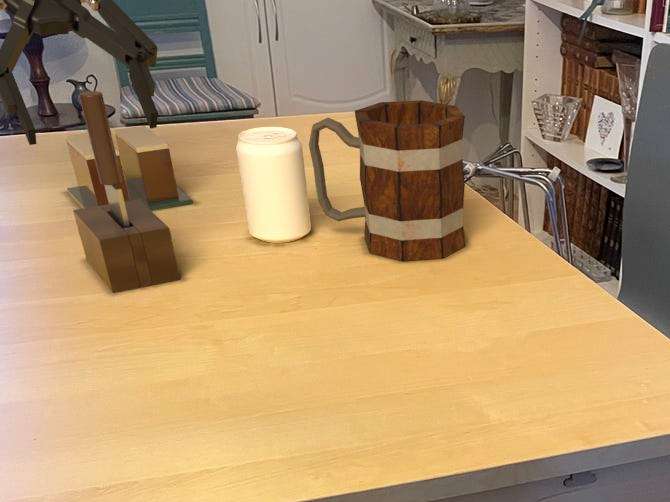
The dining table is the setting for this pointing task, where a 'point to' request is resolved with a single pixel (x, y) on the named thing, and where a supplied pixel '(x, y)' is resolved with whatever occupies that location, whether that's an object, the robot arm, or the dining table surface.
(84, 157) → the twin slanted wooden posts
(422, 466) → the dining table surface
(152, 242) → the knife block
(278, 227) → the beverage can
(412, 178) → the mug
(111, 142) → the knife
